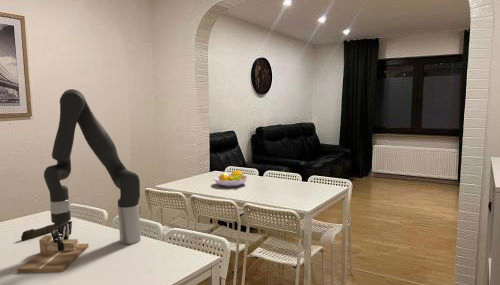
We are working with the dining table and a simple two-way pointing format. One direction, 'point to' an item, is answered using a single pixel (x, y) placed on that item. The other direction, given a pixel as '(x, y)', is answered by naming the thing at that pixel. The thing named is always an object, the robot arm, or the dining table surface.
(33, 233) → the hand tool
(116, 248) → the dining table surface
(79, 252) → the walnut board
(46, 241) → the marking gauge
